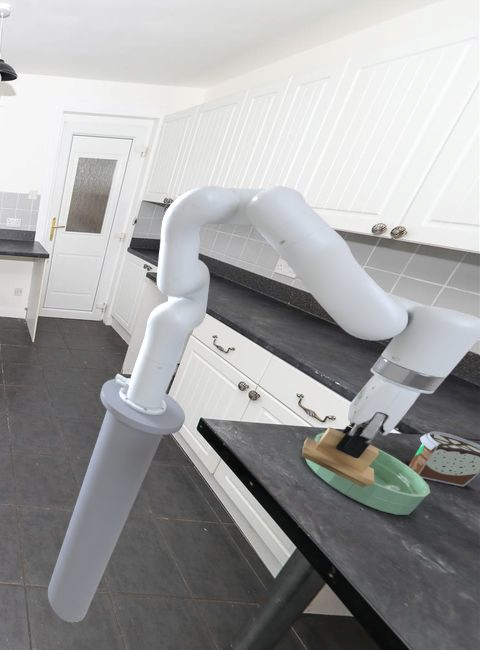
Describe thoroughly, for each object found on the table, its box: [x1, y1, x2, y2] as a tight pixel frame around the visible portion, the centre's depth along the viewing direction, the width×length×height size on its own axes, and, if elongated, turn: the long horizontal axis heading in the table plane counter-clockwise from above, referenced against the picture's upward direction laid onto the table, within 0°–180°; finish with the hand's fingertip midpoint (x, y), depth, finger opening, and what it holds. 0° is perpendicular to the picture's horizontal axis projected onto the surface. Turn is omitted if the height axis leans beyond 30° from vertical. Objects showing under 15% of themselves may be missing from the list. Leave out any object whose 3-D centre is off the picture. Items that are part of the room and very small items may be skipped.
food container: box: [407, 430, 480, 487], centre depth 78 cm, size 12×6×10 cm, turn 78°
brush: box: [301, 426, 379, 488], centre depth 67 cm, size 10×5×8 cm, turn 41°
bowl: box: [304, 432, 431, 516], centre depth 74 cm, size 17×17×6 cm
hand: (347, 448), depth 66 cm, fingers closed on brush, 2 cm apart
